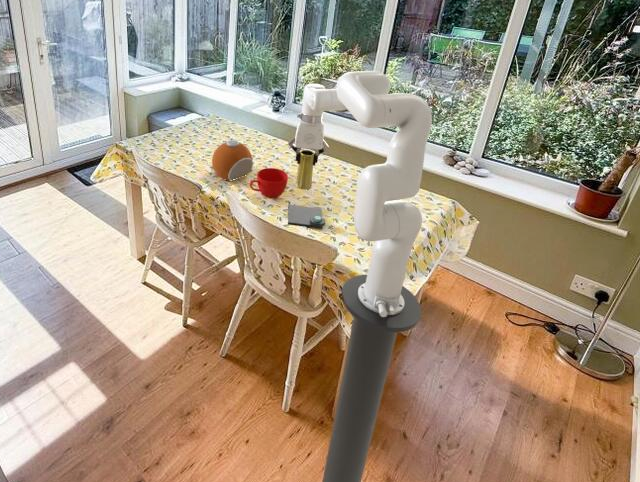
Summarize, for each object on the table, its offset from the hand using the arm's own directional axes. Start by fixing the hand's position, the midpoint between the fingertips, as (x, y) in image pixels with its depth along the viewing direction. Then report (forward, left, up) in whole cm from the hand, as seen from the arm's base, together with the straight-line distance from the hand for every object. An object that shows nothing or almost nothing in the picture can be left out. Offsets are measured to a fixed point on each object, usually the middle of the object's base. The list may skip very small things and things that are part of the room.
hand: (306, 163), depth 156 cm
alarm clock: (+28, +32, -22) cm, 48 cm away
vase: (0, 0, -10) cm, 10 cm away
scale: (-2, -2, -22) cm, 23 cm away
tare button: (-7, -6, -20) cm, 22 cm away
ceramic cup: (+12, +14, -23) cm, 29 cm away
